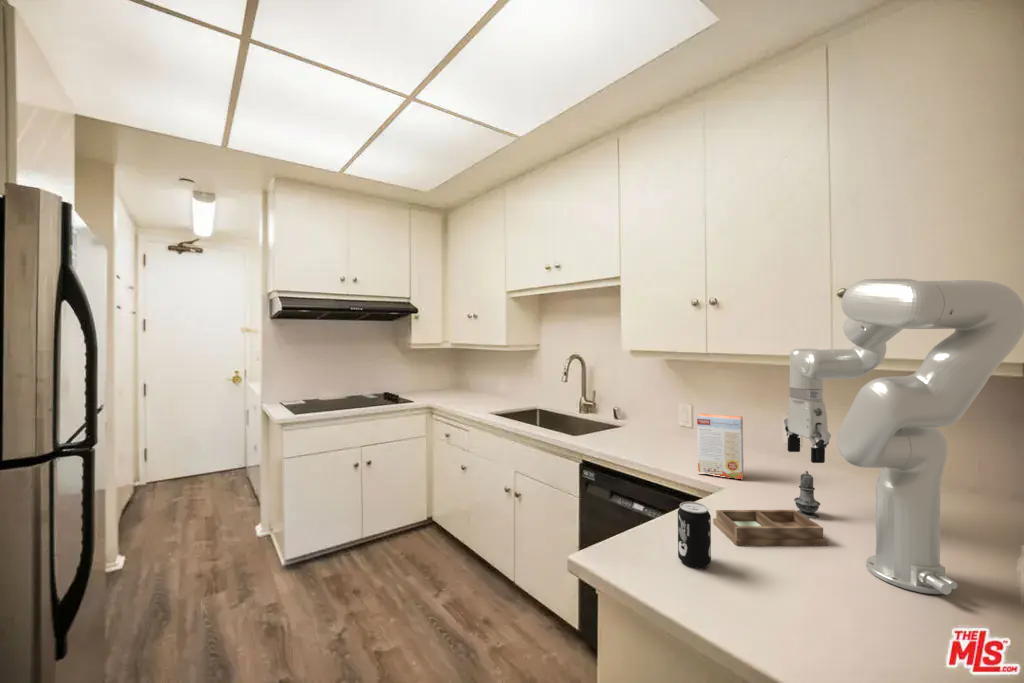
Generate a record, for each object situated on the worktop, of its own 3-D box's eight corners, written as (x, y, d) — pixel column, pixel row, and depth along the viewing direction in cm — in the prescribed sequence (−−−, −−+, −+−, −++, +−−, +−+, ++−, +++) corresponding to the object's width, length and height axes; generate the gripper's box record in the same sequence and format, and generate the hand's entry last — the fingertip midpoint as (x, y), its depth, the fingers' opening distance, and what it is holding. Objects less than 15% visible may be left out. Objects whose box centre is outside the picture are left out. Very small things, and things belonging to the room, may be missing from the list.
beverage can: (708, 573, 88) (708, 515, 88) (675, 564, 92) (674, 508, 92) (712, 558, 94) (712, 504, 94) (681, 551, 97) (680, 498, 97)
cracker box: (743, 476, 148) (743, 415, 148) (742, 481, 143) (742, 418, 143) (700, 469, 155) (699, 412, 155) (697, 474, 150) (696, 415, 150)
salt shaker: (824, 520, 113) (824, 474, 112) (799, 518, 114) (799, 473, 114) (813, 511, 118) (813, 467, 118) (790, 509, 119) (790, 466, 119)
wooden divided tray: (794, 522, 111) (794, 508, 111) (827, 545, 99) (827, 529, 99) (713, 523, 112) (712, 508, 112) (736, 545, 100) (736, 529, 100)
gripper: (844, 399, 107) (843, 467, 108) (799, 389, 124) (798, 447, 125) (813, 400, 107) (813, 467, 108) (773, 389, 125) (772, 448, 125)
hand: (805, 456), depth 116 cm, fingers open, 9 cm apart
